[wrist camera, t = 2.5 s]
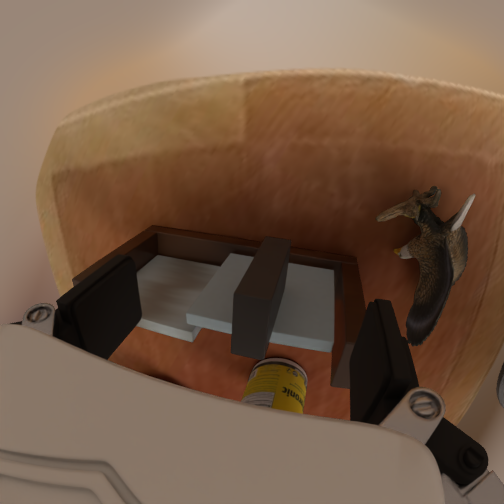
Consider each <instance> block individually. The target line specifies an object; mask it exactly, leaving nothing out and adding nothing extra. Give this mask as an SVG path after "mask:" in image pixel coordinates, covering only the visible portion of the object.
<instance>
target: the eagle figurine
mask: <svg viewBox="0 0 504 504" xmlns="http://www.w3.org/2000/svg"><path fill="white" fill-rule="evenodd" d="M436 190H437V191H436ZM435 192H436V194H435ZM434 194H435V196H434V197H431V196H432V195H434ZM429 197H431V198H429ZM440 197H441V190H440V189H437V186H432V187H431V188H430V190H429V191H428V192H424V193H423V194H421V195H420V194H419V192H418V190H414V191H413V196H412V197H411V198H410V199H408V200H407V201H405V202H402V203H400V204H398V205H396V206H394V207H392V208H390V209H388V210H386V211H384V212H382V213H380V214H379V215H378V216H377V217H376V220H377V221H379V222H380V221H386V220H389V219H391V218H395V217H396V216H398V215H404V216H406V217H409V218H413V220H414V222H415V223H416V224H417V225H419V226H420V230H421V234H419V235H418V236H416V237H415V238H413V239H412V240H411V241H410V242H409V243H408V244H407V245H405V246H403V247H401V248H399V249H394V250H393V251H394V253H396V254H397V255H399V257H400V258H403V259H407V258H417V260H418V262H419V266H420V279H419V283H418V286H417V288H416V291H415V295H414V303H413V305H412V307H411V309H410V311H409V314H408V317H407V321H406V327H407V339H408V340H407V342H408V343H409V344H410V343H411V345H412V346H418V345H421V344H422V343H423V341H425V340H426V339H427V337H429V335H430V334H431V332H432V331H433V330H434V327H435V326H436V325H437V322H438V319H439V318H440V316H441V313H442V311H443V308H444V307H445V304H446V301H447V299H448V296H449V293H450V290H451V287H452V286H453V285H454V284H455V281H457V280H459V278H460V277H461V275H462V272H464V269H465V267H466V262H467V258H468V257H467V254H468V246H467V245H468V239H467V233H466V232H465V228H464V227H462V226H461V224H462V222H463V220H464V218H465V216H466V214H467V212H468V210H469V208H470V206H471V204H472V202H473V200H474V198H475V194H472V195H471V196H469V197H468V198H467V200H466V202H465V204H464V205H463V206H462V208H461V209H460V211H459V212H458V213H456V214H455V215H454V216H452V217H451V218H450V219H449V220H448V221H447V222H445V223H444V222H443V221H441V220H440V218H439V217H437V216H436V215H435V214H434V213H433V212H432V211H431V208H435V207H437V206H438V202H439V199H440ZM460 227H461V228H460Z"/></svg>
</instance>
